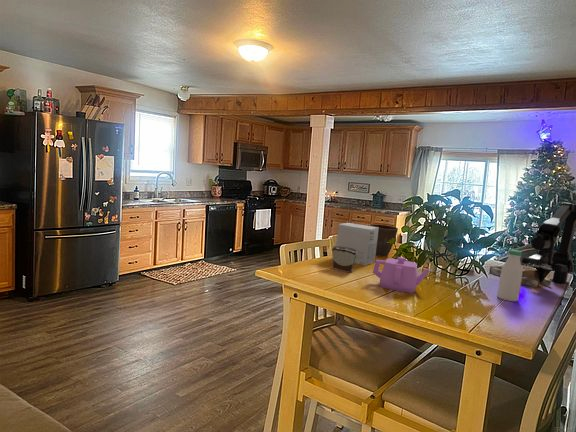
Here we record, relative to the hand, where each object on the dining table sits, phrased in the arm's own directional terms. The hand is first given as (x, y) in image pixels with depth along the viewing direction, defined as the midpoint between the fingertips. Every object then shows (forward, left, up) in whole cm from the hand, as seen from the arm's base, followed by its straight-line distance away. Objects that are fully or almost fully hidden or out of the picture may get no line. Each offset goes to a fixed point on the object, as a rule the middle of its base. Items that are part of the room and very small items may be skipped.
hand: (540, 282), depth 197 cm
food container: (+86, -35, -2) cm, 93 cm away
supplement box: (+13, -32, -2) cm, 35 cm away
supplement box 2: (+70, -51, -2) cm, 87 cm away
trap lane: (-1, -12, -2) cm, 12 cm away
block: (0, -3, -2) cm, 4 cm away
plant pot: (+45, -63, -2) cm, 77 cm away
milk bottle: (+38, +12, -2) cm, 40 cm away
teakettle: (+77, -8, -2) cm, 78 cm away
